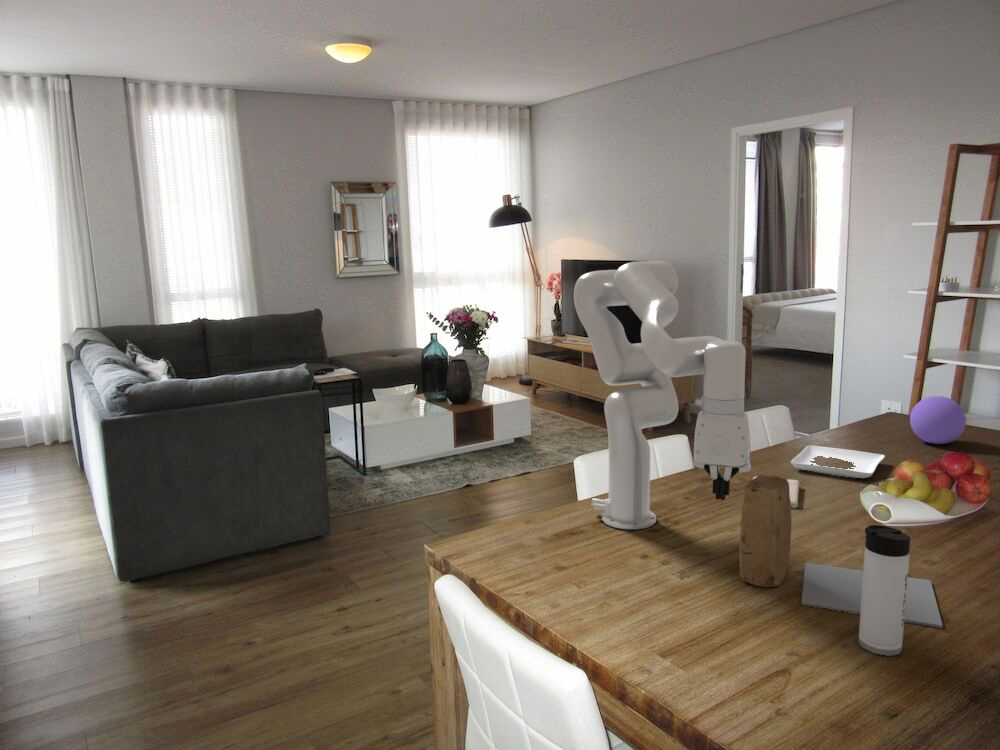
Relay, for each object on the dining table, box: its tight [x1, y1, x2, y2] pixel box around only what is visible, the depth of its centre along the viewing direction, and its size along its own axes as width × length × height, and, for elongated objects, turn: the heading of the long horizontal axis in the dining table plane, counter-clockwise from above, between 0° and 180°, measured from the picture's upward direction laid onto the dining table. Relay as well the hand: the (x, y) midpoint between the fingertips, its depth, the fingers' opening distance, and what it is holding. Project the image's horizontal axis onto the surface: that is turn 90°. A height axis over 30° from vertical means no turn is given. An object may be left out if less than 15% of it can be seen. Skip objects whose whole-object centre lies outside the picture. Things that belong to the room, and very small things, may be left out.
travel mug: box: [858, 524, 911, 657], centre depth 118 cm, size 6×7×20 cm
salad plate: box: [790, 444, 886, 479], centre depth 211 cm, size 21×21×3 cm
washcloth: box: [752, 475, 801, 509], centre depth 190 cm, size 12×18×3 cm, turn 158°
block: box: [739, 474, 792, 588], centre depth 143 cm, size 11×8×20 cm
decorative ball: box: [909, 395, 967, 445], centre depth 231 cm, size 15×15×15 cm
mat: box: [801, 562, 944, 629], centre depth 137 cm, size 22×18×1 cm
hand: (720, 497), depth 145 cm, fingers closed
